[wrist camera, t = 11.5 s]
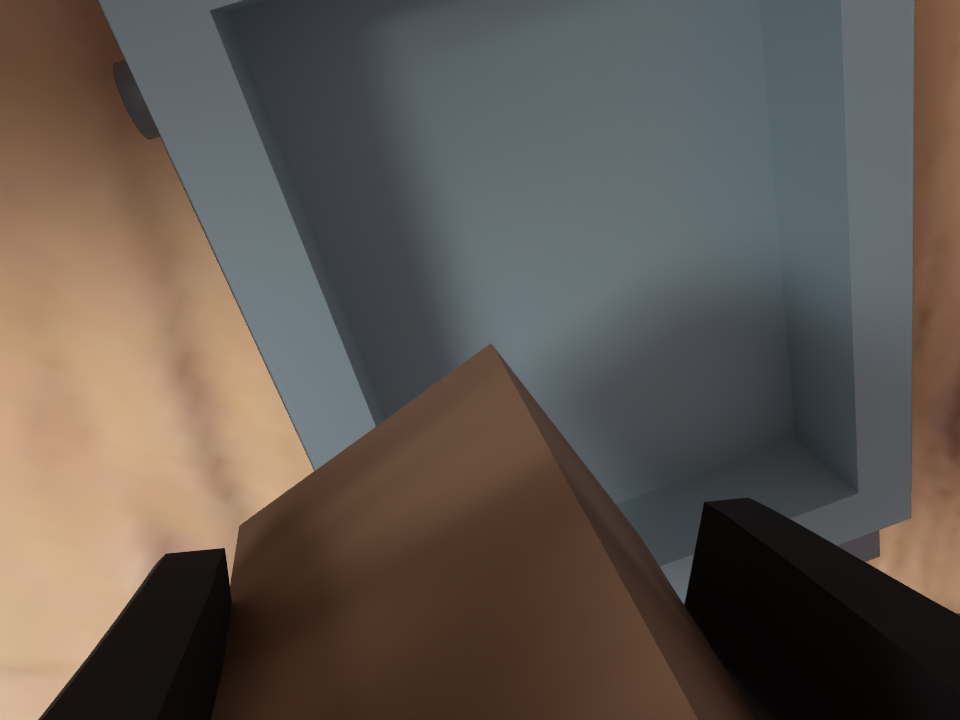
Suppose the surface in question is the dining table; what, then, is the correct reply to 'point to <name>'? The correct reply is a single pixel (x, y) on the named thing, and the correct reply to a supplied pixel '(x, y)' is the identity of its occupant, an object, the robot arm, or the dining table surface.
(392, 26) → the cart
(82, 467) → the dining table surface
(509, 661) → the walnut block
